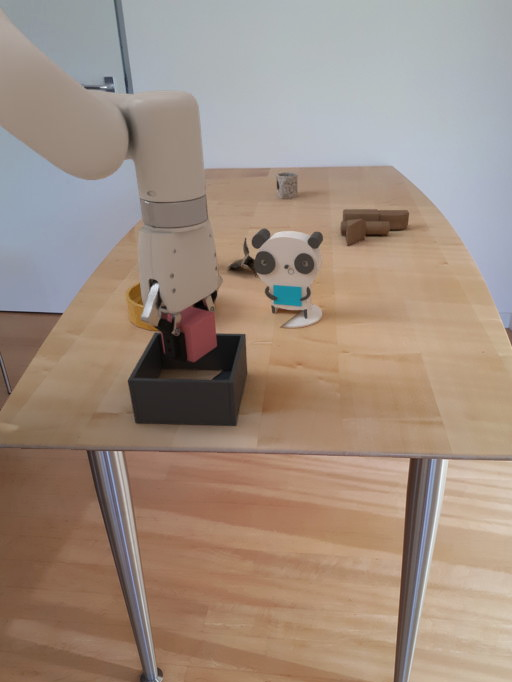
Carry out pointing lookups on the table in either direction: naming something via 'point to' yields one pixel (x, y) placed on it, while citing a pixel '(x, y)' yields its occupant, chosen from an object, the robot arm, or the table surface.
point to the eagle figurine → (245, 259)
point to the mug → (287, 185)
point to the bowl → (137, 307)
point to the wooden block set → (371, 222)
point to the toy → (197, 332)
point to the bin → (190, 385)
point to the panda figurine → (289, 272)
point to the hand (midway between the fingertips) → (190, 348)
